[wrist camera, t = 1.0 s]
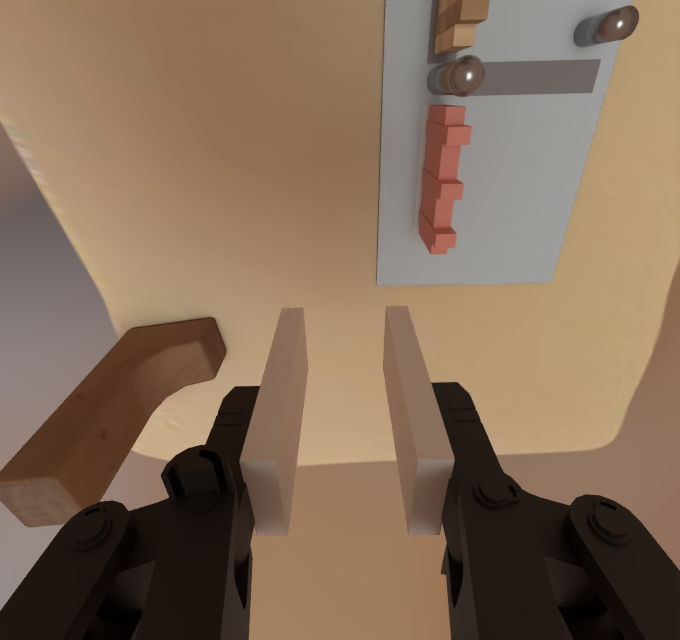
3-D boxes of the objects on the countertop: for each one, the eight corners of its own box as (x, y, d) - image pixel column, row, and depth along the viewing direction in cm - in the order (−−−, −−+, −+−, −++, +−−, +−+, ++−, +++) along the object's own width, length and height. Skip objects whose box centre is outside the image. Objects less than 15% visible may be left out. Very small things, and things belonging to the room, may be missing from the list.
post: (426, 63, 26) (455, 53, 20) (455, 63, 26) (493, 52, 20) (424, 97, 27) (450, 97, 21) (452, 96, 27) (486, 97, 21)
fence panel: (428, 104, 27) (450, 107, 22) (448, 104, 27) (474, 107, 22) (417, 233, 32) (433, 261, 27) (434, 233, 32) (453, 261, 27)
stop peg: (577, 18, 25) (615, 5, 22) (601, 17, 25) (643, 4, 22) (570, 47, 26) (605, 40, 22) (594, 47, 26) (632, 39, 22)
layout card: (390, -172, 21) (391, -178, 21) (681, -183, 21) (687, -188, 21) (376, 283, 35) (376, 286, 35) (548, 280, 35) (551, 282, 35)
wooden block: (214, 316, 37) (124, 472, 22) (228, 352, 40) (155, 518, 24) (128, 327, 38) (-19, 487, 23) (146, 363, 40) (25, 530, 25)
